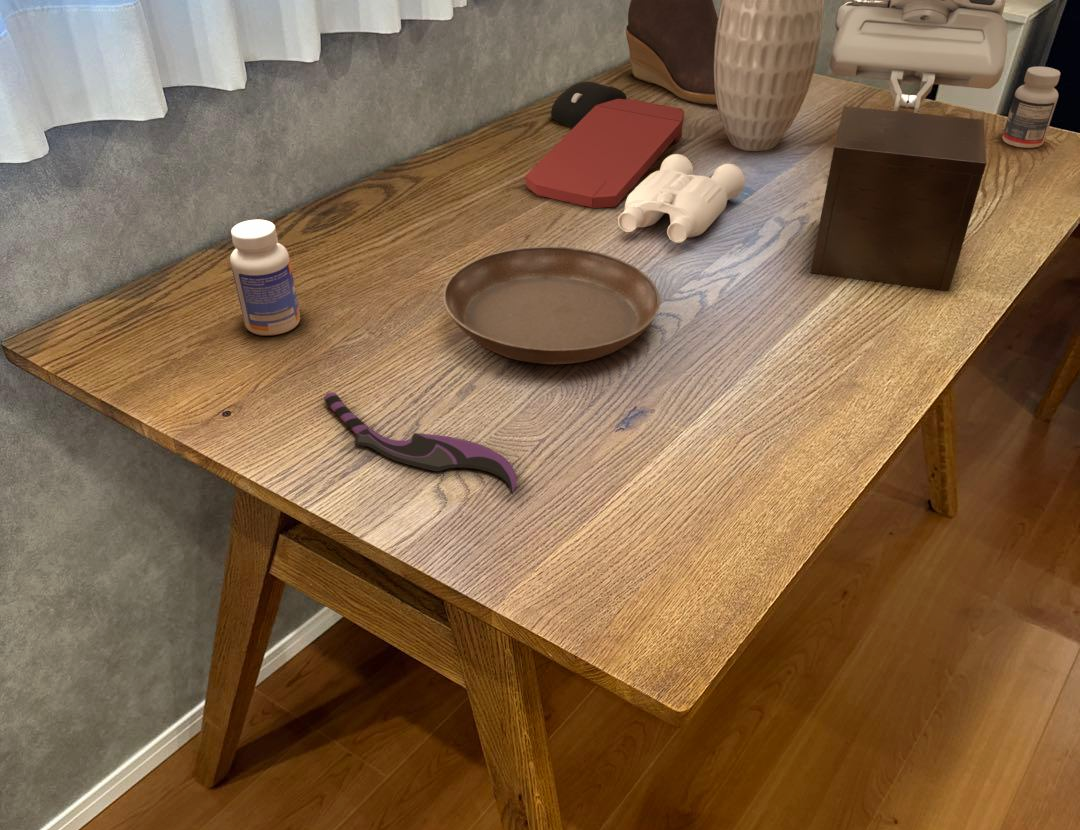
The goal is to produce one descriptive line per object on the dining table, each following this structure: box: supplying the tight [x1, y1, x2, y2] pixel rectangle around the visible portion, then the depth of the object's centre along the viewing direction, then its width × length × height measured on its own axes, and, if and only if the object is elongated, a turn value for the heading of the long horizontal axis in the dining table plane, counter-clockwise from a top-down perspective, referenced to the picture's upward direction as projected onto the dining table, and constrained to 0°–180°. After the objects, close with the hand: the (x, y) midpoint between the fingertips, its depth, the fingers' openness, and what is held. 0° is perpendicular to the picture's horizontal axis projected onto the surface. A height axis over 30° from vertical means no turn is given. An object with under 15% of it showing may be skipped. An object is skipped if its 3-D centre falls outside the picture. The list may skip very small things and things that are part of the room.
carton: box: [524, 98, 685, 209], centre depth 128 cm, size 12×5×25 cm
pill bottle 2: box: [1001, 66, 1061, 149], centre depth 132 cm, size 5×5×9 cm
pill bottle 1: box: [229, 219, 301, 336], centre depth 96 cm, size 5×5×10 cm
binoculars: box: [617, 153, 746, 244], centre depth 115 cm, size 10×16×5 cm, turn 153°
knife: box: [323, 391, 518, 493], centre depth 84 cm, size 21×1×5 cm
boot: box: [625, 0, 718, 105], centre depth 143 cm, size 9×24×20 cm, turn 47°
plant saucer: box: [442, 246, 661, 365], centre depth 98 cm, size 21×21×3 cm
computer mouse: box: [550, 81, 628, 128], centre depth 141 cm, size 8×12×4 cm, turn 139°
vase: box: [714, 0, 825, 152], centre depth 125 cm, size 13×13×28 cm
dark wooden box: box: [809, 105, 987, 292], centre depth 105 cm, size 14×12×13 cm
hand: (905, 112), depth 124 cm, fingers closed
